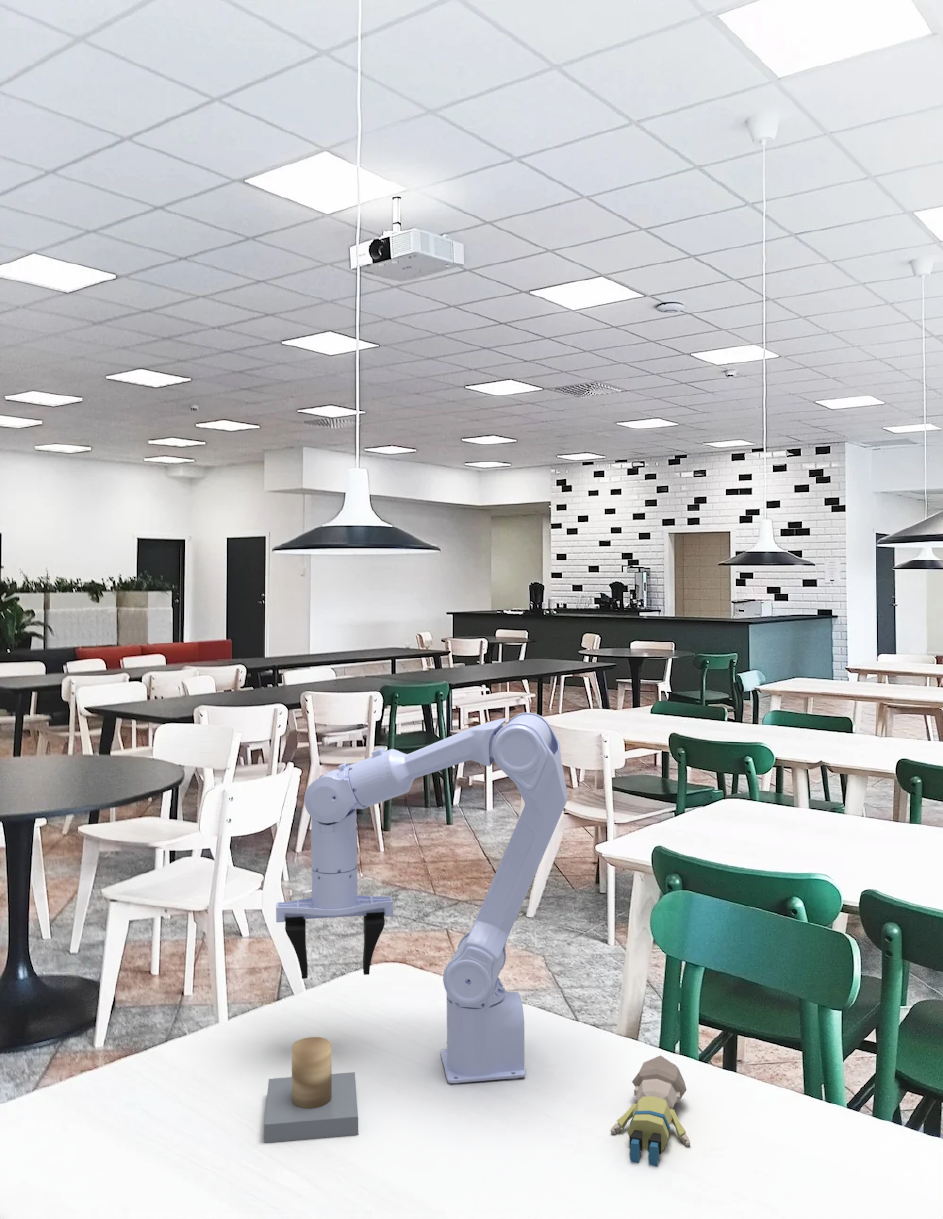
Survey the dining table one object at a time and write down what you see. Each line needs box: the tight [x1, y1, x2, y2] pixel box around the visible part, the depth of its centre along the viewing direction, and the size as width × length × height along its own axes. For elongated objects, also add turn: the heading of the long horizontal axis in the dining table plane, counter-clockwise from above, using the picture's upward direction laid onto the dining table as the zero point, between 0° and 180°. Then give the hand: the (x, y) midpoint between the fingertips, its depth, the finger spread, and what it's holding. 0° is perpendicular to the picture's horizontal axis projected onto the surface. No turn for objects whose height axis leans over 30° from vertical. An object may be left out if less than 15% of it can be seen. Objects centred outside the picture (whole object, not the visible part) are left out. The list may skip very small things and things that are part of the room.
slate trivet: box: [263, 1071, 359, 1144], centre depth 115 cm, size 10×10×2 cm
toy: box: [610, 1054, 691, 1167], centre depth 112 cm, size 8×5×15 cm
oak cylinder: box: [291, 1036, 333, 1109], centre depth 115 cm, size 4×4×6 cm
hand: (335, 973), depth 129 cm, fingers open, 7 cm apart
